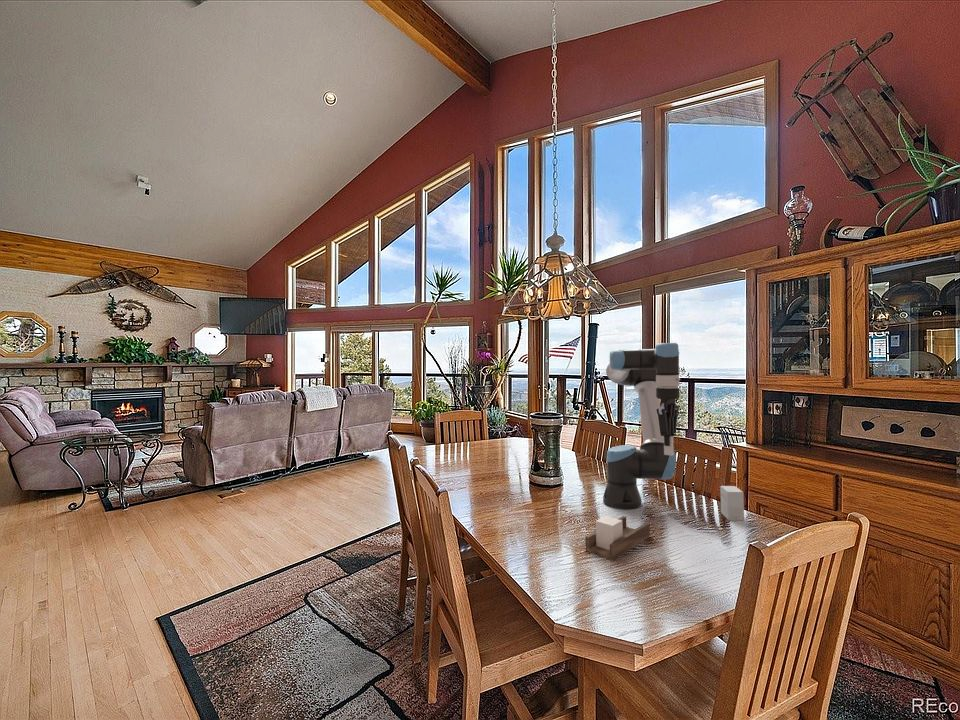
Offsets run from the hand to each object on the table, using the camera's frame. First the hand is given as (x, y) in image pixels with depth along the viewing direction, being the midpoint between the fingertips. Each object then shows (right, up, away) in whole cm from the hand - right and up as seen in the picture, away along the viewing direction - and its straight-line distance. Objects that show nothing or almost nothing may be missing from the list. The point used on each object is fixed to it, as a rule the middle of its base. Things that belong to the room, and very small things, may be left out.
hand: (668, 454), depth 157 cm
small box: (+28, -26, +11) cm, 40 cm away
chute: (-20, -27, -9) cm, 35 cm away
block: (-25, -26, -13) cm, 38 cm away
